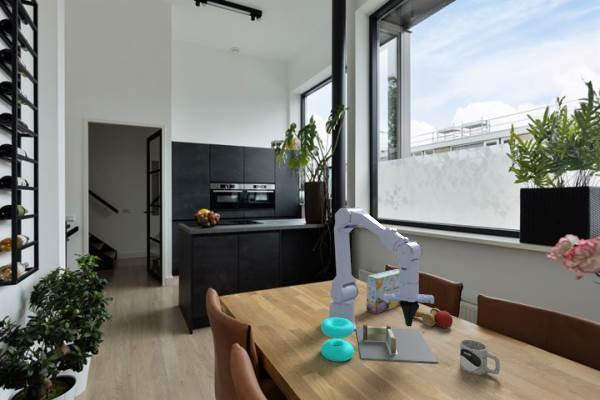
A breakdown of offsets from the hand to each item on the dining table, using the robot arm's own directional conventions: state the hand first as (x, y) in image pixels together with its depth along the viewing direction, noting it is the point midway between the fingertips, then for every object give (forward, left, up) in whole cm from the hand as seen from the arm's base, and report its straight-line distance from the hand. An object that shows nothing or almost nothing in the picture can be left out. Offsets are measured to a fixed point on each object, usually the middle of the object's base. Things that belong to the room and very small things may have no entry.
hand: (408, 325), depth 98 cm
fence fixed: (-9, +6, -8) cm, 14 cm away
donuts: (-22, -4, -9) cm, 24 cm away
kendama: (+13, +25, -9) cm, 29 cm away
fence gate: (-5, +1, -8) cm, 9 cm away
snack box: (0, +39, -9) cm, 40 cm away
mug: (+17, -9, -9) cm, 21 cm away
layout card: (-4, +5, -8) cm, 11 cm away
